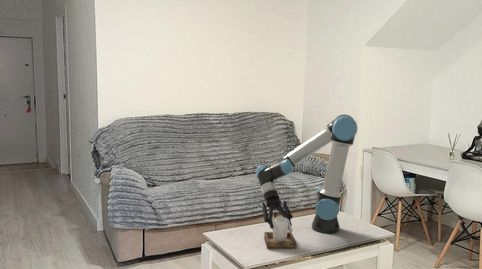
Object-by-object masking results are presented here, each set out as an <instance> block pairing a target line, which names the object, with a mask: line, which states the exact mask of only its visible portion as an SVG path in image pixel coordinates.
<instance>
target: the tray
mask: <svg viewBox="0 0 482 269" xmlns="http://www.w3.org/2000/svg"><path fill="white" fill-rule="evenodd" d="M292 232H293V231H292ZM292 232H291V233H290V234H289V231H288V232H287V239H286V240H285V241H276V240H274V239H273V231H264V233H263V234H264V235H263V236H264V237H263V240H264V243H265V246H266V249H267V250H296V249H297V240H296V239H295V237H294V235H293V233H292Z"/></svg>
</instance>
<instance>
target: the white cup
mask: <svg viewBox="0 0 482 269" xmlns="http://www.w3.org/2000/svg"><path fill="white" fill-rule="evenodd" d="M272 221H274V223H275V226H276V229H277V232H278V233H277V234H276V235H274V233H273V239H274V240H276V241H285V240H286V239H287V232H289V231H288V223H289V219H287V218H284V217H283V216H275V217H272Z"/></svg>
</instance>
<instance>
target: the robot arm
mask: <svg viewBox="0 0 482 269" xmlns="http://www.w3.org/2000/svg"><path fill="white" fill-rule="evenodd" d="M357 132H358V124H357V122H356V120H355V119H354V117H352V116H351V115H349V114H340V115H338V116H336V118H334V119H333V120H332V121H331V122H329V123H328V124H326V126H325V128H324V129H323V130H321V131H319V132H318V133H317V134H316V135H314V136H312V137H311V138H309V139H308V140H306V141H305V142H303V143H302V144H300V145H299V146H297V147H296V148H295V149H293V150H291V151H290V152H289V153H287V154H286V155H284V156H282V157H280V158H278V160H277V163H275V164H273V165H271V166H269V165H268V164H267V165H266V164H263V165H260V166H258V167H257V168H256V169H255V174H256V178H257V180H258V183H259V186H260V190H261V192H262V195H263V199H264V202H262V203H261V204H260V206H261V209H262V213H263V214H262V215H263V221H264V223H267V224H268V225H269V228H270V229H272V232H273V233H274V235H276V234H277V233H278V232H277V229H276V226H275V223H274V221H273V214H274V212H273V211H274V210H276V211H278V213H280V214H281V217H284V218H287V219H289V223H288V232H289V234H290V233H291V232H294V231H293V228H292V226H293V224H292V221H291V220H292V219H293V214H292V212H291V210H290V208H289V206H288V204H287V201H286V200H283V201H282V200H281V199H280V196H279V193H278V191H277V188H276V184H275V181H277V180H279V179H280V178H283V177H285V176H287V175H290V174H291V173H293V172H294V167H295V166H296V165H298V164H300V163H301V162H302V161H304V160H306V159H307V158H309V157H310V156H312V155H313V154H315V153H316V152H319V150H321V149H322V148H324V147H325V146H327V145H328V144H330V143H331V149H330V153H329V158H328V162H327V167H326V171H325V176H324V181H323V185H322V187H318V188H317V190H316V200H315V201H316V202H315V208H314V210H315V215H314V218H313V220H312V223H311V229H312V230H314V231H315V232H319V233H322V234H323V233H324V234H334V233H338V232H340V228H341V227H340V222H339V220H338V219H339V218H338V214H339V212H340V203H341V200H342V194H341V192H340V190H341V186H342V181H343V175H344V171H345V167H346V162H347V159H348V155H349V149H350V147H352V146H353V145H354V141H355V137H356V134H358V133H357ZM267 207H268V210H267Z"/></svg>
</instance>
